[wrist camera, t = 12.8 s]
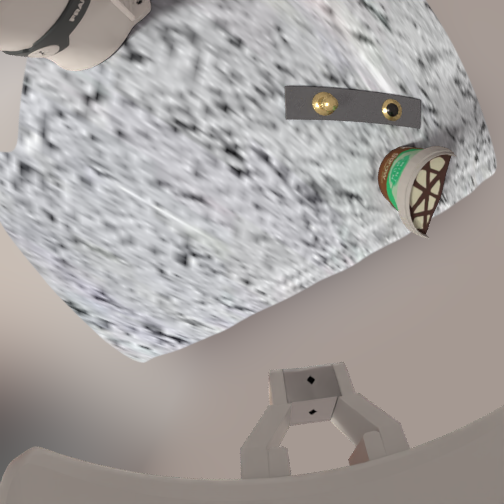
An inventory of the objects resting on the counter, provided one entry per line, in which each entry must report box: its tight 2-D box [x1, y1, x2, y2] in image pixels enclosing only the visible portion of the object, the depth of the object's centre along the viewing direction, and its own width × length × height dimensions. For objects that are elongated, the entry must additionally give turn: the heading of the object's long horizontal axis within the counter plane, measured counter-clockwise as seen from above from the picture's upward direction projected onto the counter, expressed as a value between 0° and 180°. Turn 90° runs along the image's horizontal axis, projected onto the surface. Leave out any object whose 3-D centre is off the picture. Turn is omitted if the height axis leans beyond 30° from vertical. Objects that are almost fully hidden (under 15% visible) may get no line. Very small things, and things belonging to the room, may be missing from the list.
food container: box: [378, 146, 456, 238], centre depth 34 cm, size 12×6×10 cm, turn 170°
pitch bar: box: [284, 86, 420, 129], centre depth 32 cm, size 4×20×4 cm, turn 93°
